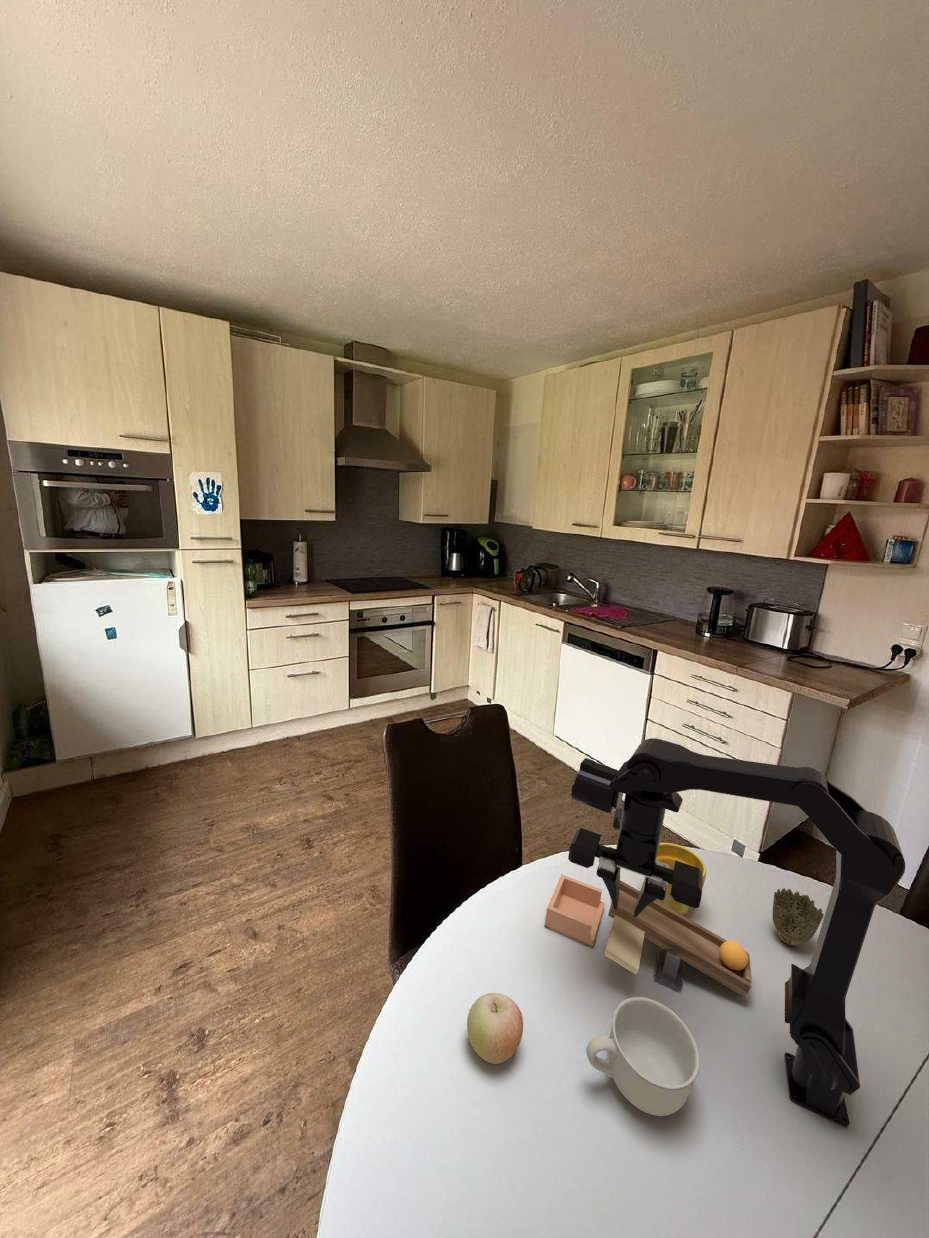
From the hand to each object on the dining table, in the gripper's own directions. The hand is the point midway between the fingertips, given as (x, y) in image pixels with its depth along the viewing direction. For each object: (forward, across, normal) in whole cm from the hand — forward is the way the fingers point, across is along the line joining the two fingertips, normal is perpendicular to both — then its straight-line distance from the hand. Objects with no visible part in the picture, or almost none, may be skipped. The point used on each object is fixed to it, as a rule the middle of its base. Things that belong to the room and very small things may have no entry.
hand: (625, 911), depth 78 cm
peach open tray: (+13, +8, -9) cm, 18 cm away
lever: (+9, -8, -5) cm, 13 cm away
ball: (+8, -17, -9) cm, 21 cm away
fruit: (+13, +13, +19) cm, 27 cm away
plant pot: (+13, -7, -22) cm, 27 cm away
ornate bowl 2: (+13, -27, -24) cm, 38 cm away
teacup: (+13, -5, +14) cm, 20 cm away
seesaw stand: (+13, -8, -9) cm, 18 cm away
